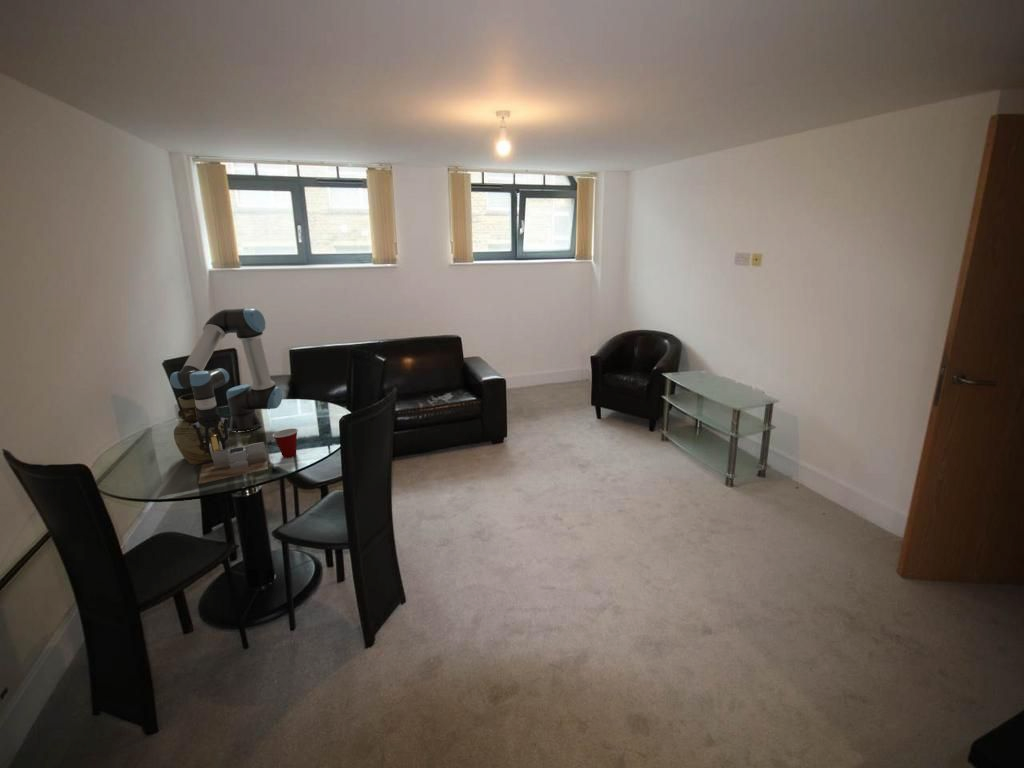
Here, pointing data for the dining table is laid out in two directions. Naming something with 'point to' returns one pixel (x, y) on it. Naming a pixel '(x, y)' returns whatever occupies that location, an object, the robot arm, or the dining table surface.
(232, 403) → the robot arm
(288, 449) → the plastic cup
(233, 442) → the dining table surface
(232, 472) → the board
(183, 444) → the ceramic vessel
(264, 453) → the fixed leaf
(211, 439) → the pin
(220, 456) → the flanged square frame
